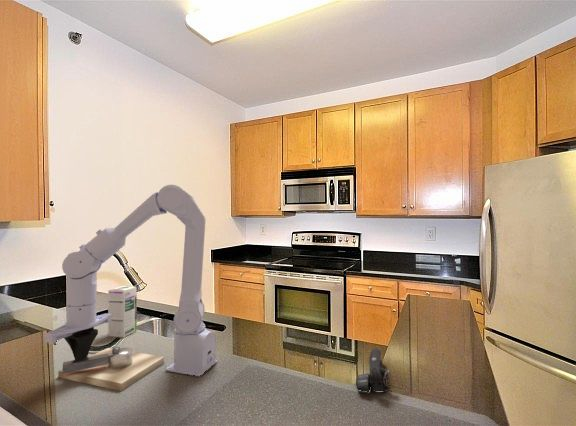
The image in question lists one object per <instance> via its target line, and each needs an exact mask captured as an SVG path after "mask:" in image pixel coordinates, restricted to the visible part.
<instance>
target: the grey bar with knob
mask: <svg viewBox="0 0 576 426" xmlns="http://www.w3.org/2000/svg"><path fill="white" fill-rule="evenodd" d="M133 352H134V350H133V348H132V347H121V346H116V347H115V346H114V347H112V351H111V352H110V353H109V354H108V353H107V354H102V355H97V356H92V355H91V356H92V357H89V356H87V358H82V359H77V360H75V359H73V360H68V361H63V363H62V369H63V374H65V373H70V372H74V371H79V370H84V369H88V368H93V367H98V366H102V365H107V364H108V367H109V368H111V369H120V368H124V367H127V366H129V365H130V364H132V362H133Z"/></svg>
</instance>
